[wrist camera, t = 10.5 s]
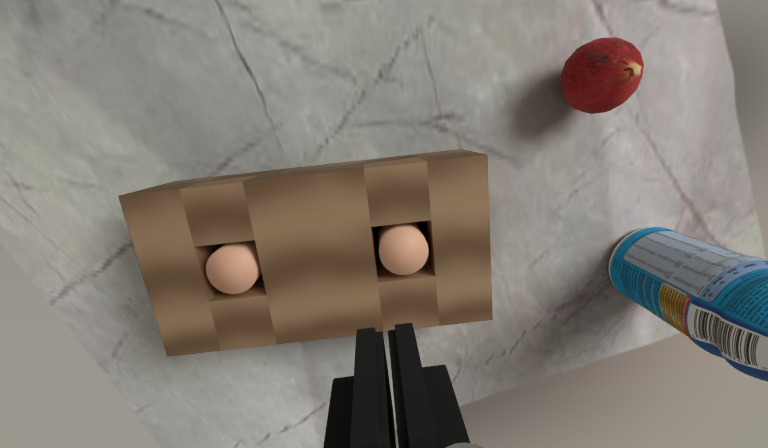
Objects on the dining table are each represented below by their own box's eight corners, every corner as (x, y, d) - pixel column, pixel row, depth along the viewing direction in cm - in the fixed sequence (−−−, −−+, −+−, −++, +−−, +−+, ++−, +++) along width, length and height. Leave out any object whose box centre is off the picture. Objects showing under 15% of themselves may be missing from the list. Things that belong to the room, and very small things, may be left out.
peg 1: (235, 226, 35) (200, 250, 28) (275, 221, 35) (251, 245, 28) (244, 263, 36) (212, 296, 29) (283, 259, 36) (260, 291, 29)
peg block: (175, 181, 34) (118, 195, 27) (461, 149, 35) (487, 154, 27) (209, 310, 38) (167, 356, 30) (468, 281, 38) (492, 319, 30)
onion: (531, 86, 33) (579, 73, 26) (576, 34, 32) (640, 4, 25) (573, 127, 34) (632, 126, 27) (618, 77, 33) (692, 62, 26)
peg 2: (375, 210, 35) (376, 231, 28) (415, 205, 35) (426, 225, 28) (380, 248, 36) (381, 277, 29) (418, 243, 36) (430, 272, 29)
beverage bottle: (635, 210, 37) (927, 299, 17) (697, 244, 38) (1036, 362, 19) (588, 278, 39) (806, 427, 19) (650, 308, 40) (913, 477, 20)
